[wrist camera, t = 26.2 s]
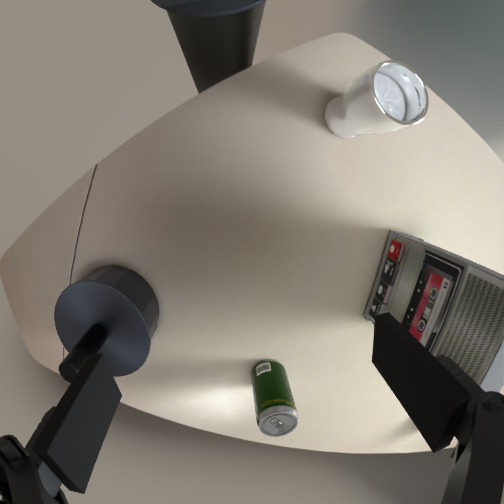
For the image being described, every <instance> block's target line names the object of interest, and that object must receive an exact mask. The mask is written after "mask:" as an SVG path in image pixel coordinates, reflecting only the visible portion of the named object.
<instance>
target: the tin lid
mask: <svg viewBox="0 0 504 504" xmlns="http://www.w3.org/2000/svg"><path fill="white" fill-rule="evenodd" d="M54 319H55V326H56V330H57V333H58V336H59V338H60V340H61V342H62V344H63V345H64V347H65V348H66V350H67V351H68V352H69V354H68V355H67V356H66V357H65V359H64V360H63V361H62V362H61V364H60V365H59V372H60V374H61V376H62V377H63V378H64V379H65V380H66V381H68V382H70V383H72V381H73V380H74V378H75V376H76V375H77V373H78V372H79V370H80V369H81V367H82V366H83V364H84V363H85V361H86V360H87V358H88V357H89V356H90V354H100V353H103V354H104V356H105V359H106V361H107V364H108V366H109V368H110V371H111V373H112V375H113V376H115V377H118V376H125V375H128V374H131V373H133V372H135V371H136V370H138V369H139V368H140V367H141V366H142V365H143V364H144V362H145V360H146V359H147V357H148V354H149V351H150V345H151V337H150V331H149V327H148V324H147V321H146V319H145V317H144V315H143V313H142V312H141V310H140V309H139V307H138V306H137V305H136V304H135V302H134V301H133V300H132V299H131V298H130V297H129V296H128V295H126V294H125V293H124V292H123V291H121V290H120V289H118V288H116V287H115V286H113V285H110V284H108V283H105V282H102V281H97V280H82V281H78V282H76V283H73V284H71V285H70V286H69V287H67V288H66V289H65V290H64V291H63V292H62V293H61V295H60V296H59V298H58V300H57V303H56V306H55V312H54Z"/></svg>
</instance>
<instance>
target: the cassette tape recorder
mask: <svg viewBox="0 0 504 504" xmlns="http://www.w3.org/2000/svg"><path fill="white" fill-rule="evenodd" d="M387 312H389V313H390V314H391V315H392V316H393V317H395V318H396V319H397V320H398V321H399V322H400V323H401V324H402V325H403V326H404V327H405V328H406V329H407V330H408V331H409V332H410V333H411V334H412V335H413V336H414V337H415V338H416V339H417V340H418V341H419V342H420V343H421V344H422V345H423V346H424V347H425V348H426V349H427V350H428V351H429V352H430V353H431V354H432V355H433V356H434V357H436V356H439V355H441V354H442V355H445V356H447V357H449V358H451V359H452V360H453V361H455V362H456V363H457V364H458V365H459V367H461V368H462V369H463V370H464V372H465V373H467V374H468V375H469V376H470V377H471V378H472V379H473V380H474V381H475V382H476V383H477V384H478V385H479V386H480V387H481V388H482V389H483V390H484V391H485V392H487V391H495V392H499V391H500V390H501V388H502V386H503V385H504V275H502V274H499V273H497V272H495V271H493V270H491V269H488V268H486V267H484V266H482V265H479V264H477V263H475V262H473V261H470V260H468V259H466V258H463V257H461V256H459V255H456V254H454V253H451V252H449V251H447V250H444V249H442V248H439V247H437V246H434V245H432V244H429V243H427V242H424V241H423V240H422V239H420V238H416V237H413V236H409V235H406V234H402V233H399V232H395V231H392V230H390V233H389V237H388V241H387V244H386V248H385V251H384V255H383V258H382V262H381V265H380V268H379V272H378V275H377V278H376V281H375V284H374V287H373V290H372V293H371V296H370V299H369V302H368V305H367V308H366V311H365V314H364V316H363V317H364V318H365V319H366V320H370V321H372V323H373V324H374V325H375V315H379V314H383V313H387Z"/></svg>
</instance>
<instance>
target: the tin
mask: <svg viewBox="0 0 504 504" xmlns="http://www.w3.org/2000/svg"><path fill="white" fill-rule="evenodd" d="M84 280H97V281H102V282H105V283H108V284H110V285H113V286H115V287H116V288H118V289H120V290H121V291H123V292H124V293H125V294H126V295H128V296H129V297H130V298H131V299H132V300H133V301H134V302H135V304H136V305H137V306H138V307H139V309H140V310H141V312H142V313H143V315H144V317H145V319H146V321H147V324H148V327H149V331H150V337H151V338H152V336H153V334H154V331H155V329H156V327H157V322H158V318H159V307H158V302H157V299H156V296H155V294H154V292H153V290H152V289H151V287H150V286H149V284H148V283H147V282H146V281H145V280H144V279H143V278H142V277H141V276H140V275H138V274H137V273H135V272H134V271H132V270H130V269H128V268H124V267H121V266H105V267H102V268H98V269H97V270H95V271H94V272H93V273H91V274H90V275H89V276H87V277H86V278H85V279H84Z"/></svg>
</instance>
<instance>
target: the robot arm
mask: <svg viewBox="0 0 504 504" xmlns="http://www.w3.org/2000/svg"><path fill="white" fill-rule="evenodd" d="M372 363H373V364H374V365H375V367H376V368H377V370H378V371H379V373H380V374H381V375H382V377H383V378H384V380H385V381H386V383H387V384H388V386H389V387H390V388H391V390H392V391H393V393H394V394H395V396H396V397H397V399H398V400H399V402H400V403H401V405H402V406H403V408H404V409H405V410H406V412H407V413H408V415H409V416H410V418H411V419H412V421H413V422H414V424H415V425H416V427H417V428H418V430H419V431H420V433H421V434H422V436H423V438H424V439H425V441H426V442H427V444H428V445H429V447H430V448H431V450H432V451H433V453H435V452H437V451H439V450H441V449H443V448H445V447H447V446H449V445H450V443H451V441H452V439H453V437H454V436H455V437H456V438H457V440H458V443H457V445H456V447H455V449H454V451H453V452H452V454H451V457H453V456H454V459H453V463H452V468H451V472H450V475H449V479H448V483H447V487H446V490H445V493H444V496H443V499H442V503H441V504H500V503H501V497H502V491H503V484H504V395H502V394H501V393H499V392H495V391H487V392H485V391H484V390H483V389H482V388H481V387H480V386H479V385H478V384H477V383H476V382H475V381H474V380H473V379H472V378H471V377H470V376H469V375H468V374H467V373H465V372H464V370H463V369H462V368H461V367H459V365H458V364H457V363H456V362H455V361H453V360H452V359H451V358H449V357H447V356H445V355H442V354H441V355H439V356H436V357H434V356H433V355H432V354H431V353H430V352H429V351H428V350H427V349H426V348H425V347H424V346H423V345H422V344H421V343H420V342H419V341H418V340H417V339H416V338H415V337H414V336H413V335H412V334H411V333H410V332H409V331H408V330H407V329H406V328H405V327H404V326H403V325H402V324H401V323H400V322H399V321H398V320H397V319H396V318H395V317H393V316H392V315H391V314H390V313H389V312H387V313H383V314H379V315H375V325H374V342H373V355H372ZM121 397H122V394H121V392H120V390H119V388H118V386H117V384H116V382H115V380H114V377H113V375H112V373H111V371H110V368H109V366H108V364H107V361H106V359H105V356H104V354H103V353H100V354H90V356H89V357H88V358H87V360H86V361H85V363H84V364H83V366H82V367H81V369H80V370H79V372H78V373H77V375H76V376H75V378H74V380H73V381H72V383H71V384H70V386H69V387H68V389H67V391H66V392H65V394H64V395H63V397H62V398H61V400H60V402H59V403H58V405H57V406H56V407H54V406H53V407H52V408H51V409H50V410H49V411H48V412H46V414H45V415H44V417H43V418H42V420H41V422H40V423H39V425H38V426H37V429H36V430H35V432H34V433H33V435H32V436H31V438H30V440H29V442H28V443H27V445H26V447H25V448H23V446H22V445H21V443H20V442H19V441H18V440H17V438H16V437H14V436H13V435H4V436H2V437H1V438H0V495H1V496H2V500H0V504H68V502H67V499H66V497H65V495H64V493H63V491H62V490H61V489H60V486H61V484H62V483H63V484H64V485H65V486H66V487H67V488H68V489H69V490H70V491H74V492H78V493H82V494H84V493H85V491H86V488H87V485H88V482H89V479H90V476H91V473H92V470H93V468H94V465H95V462H96V460H97V457H98V454H99V451H100V449H101V446H102V444H103V441H104V439H105V436H106V434H107V431H108V428H109V426H110V423H111V421H112V418H113V416H114V414H115V411H116V409H117V406H118V404H119V401H120V399H121Z"/></svg>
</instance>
